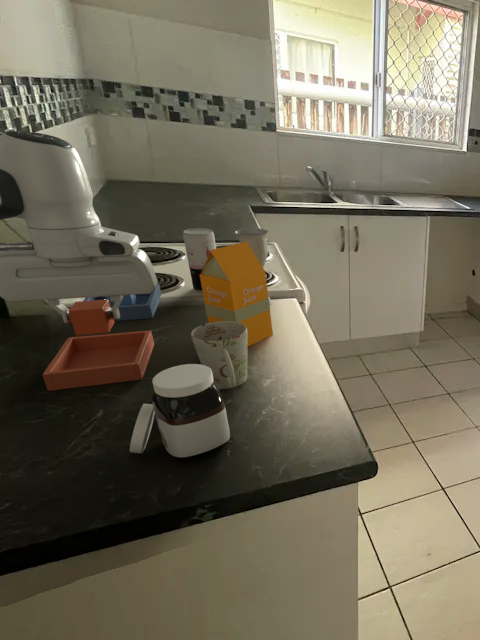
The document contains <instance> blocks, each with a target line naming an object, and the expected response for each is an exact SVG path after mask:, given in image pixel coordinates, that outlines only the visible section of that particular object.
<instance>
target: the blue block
mask: <svg viewBox="0 0 480 640" xmlns="http://www.w3.org/2000/svg"><path fill="white" fill-rule="evenodd" d="M105 298H106V300H108V301H109V304H110V307H112V306H114V303H115V301H113V302H112V301H111V300H110V297H109V296H105ZM136 304H137V298H136V295H123V299H122V301H121V303H120V305H119V306H127V305H136Z"/></svg>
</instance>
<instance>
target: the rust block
mask: <svg viewBox="0 0 480 640" xmlns="http://www.w3.org/2000/svg"><path fill="white" fill-rule="evenodd" d="M109 307H110V304H109V301H108V300H94V301H84V300H81V301H80V300H79V301H74V303H73V304H72V306H71V307H70V308H69V311H68V312H69V315H70V318H71V321H72V323H71V324H72V328H73V330H74V334H75V336H88V335H99V334H110V332H111V330H112V328H113V327H114V324H115V322H116V321H114V319H112V320H108V317H107V314H106V310H107V308H109Z"/></svg>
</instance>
